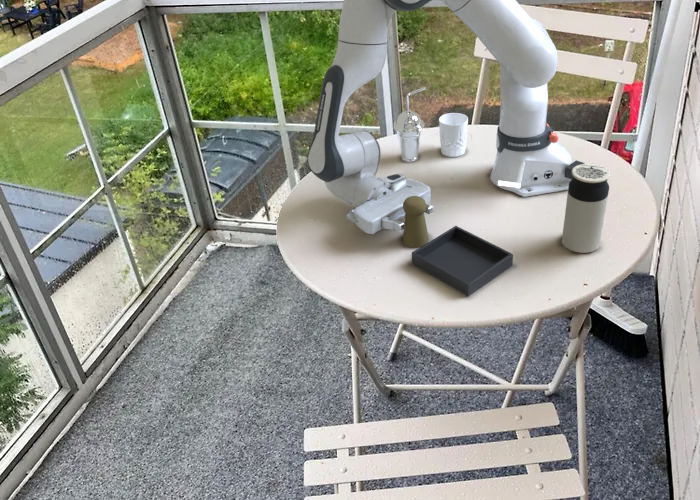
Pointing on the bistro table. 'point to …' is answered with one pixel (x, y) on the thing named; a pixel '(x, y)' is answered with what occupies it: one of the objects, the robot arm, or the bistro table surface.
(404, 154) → the cup with straw
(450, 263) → the bin
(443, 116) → the white cup
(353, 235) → the bistro table surface
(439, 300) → the bistro table surface
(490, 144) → the bistro table surface
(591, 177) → the travel mug
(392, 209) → the robot arm
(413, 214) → the olive pawn
